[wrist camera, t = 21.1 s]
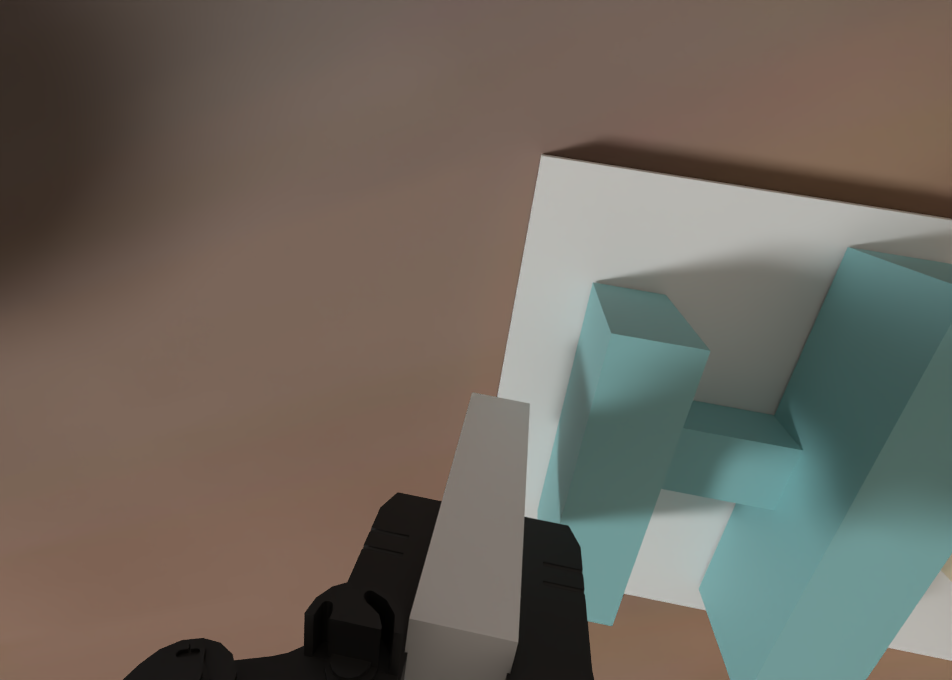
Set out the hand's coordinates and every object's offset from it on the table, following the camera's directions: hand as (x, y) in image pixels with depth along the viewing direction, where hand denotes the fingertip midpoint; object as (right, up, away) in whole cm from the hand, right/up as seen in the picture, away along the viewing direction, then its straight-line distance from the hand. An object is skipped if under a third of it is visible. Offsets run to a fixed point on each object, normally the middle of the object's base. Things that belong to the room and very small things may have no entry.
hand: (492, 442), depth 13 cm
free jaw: (+6, 0, +2) cm, 7 cm away
